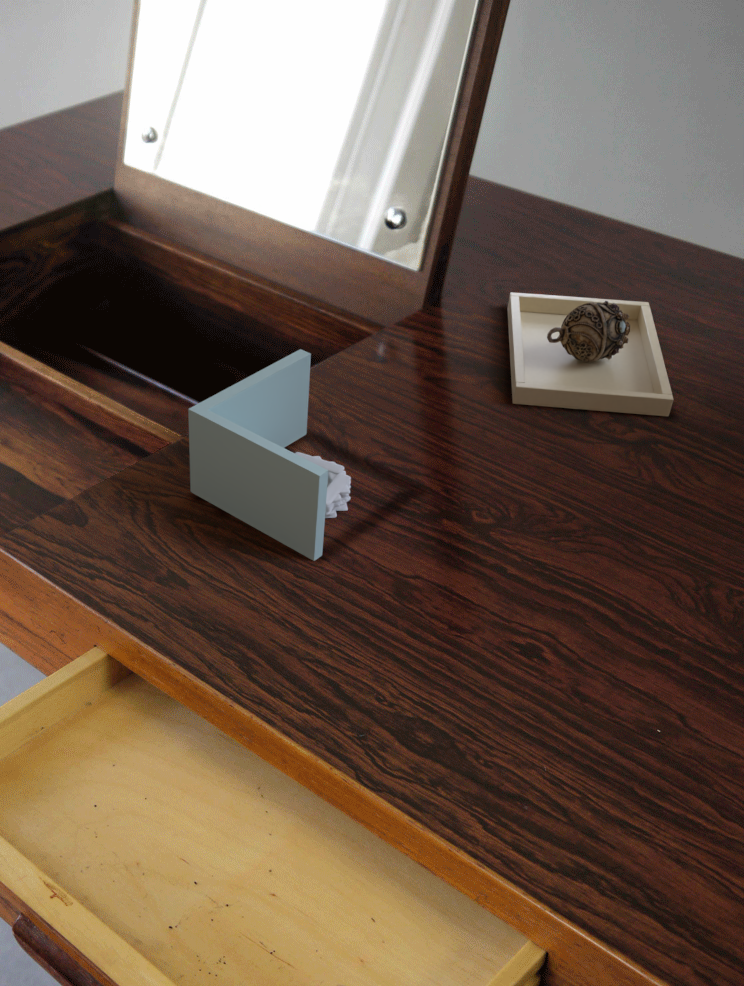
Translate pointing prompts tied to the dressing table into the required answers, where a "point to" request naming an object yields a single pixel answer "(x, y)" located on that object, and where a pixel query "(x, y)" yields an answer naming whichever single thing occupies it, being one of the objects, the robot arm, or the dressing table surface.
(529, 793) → the dressing table surface
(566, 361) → the cream shallow tray
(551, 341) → the pendant
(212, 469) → the l-shaped corner panel
